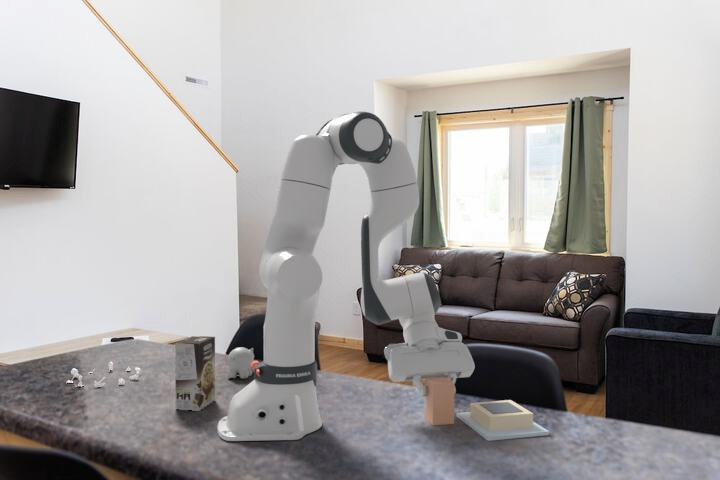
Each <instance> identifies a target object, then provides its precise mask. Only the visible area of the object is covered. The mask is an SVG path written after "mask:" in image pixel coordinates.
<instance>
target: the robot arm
mask: <svg viewBox="0 0 720 480" xmlns="http://www.w3.org/2000/svg"><path fill="white" fill-rule="evenodd" d="M285 158H286V159H285V162H284V165H283V167H282V168H283V169H282V171H281V177H280V182H279V186H278V191H277V192H278V193H277V197H276V202H275V208H274V213H273V217H272V220H271V225H270V228H269V229H268V230H269V231H268V233H267V237H266V240H265V243H264V247H263V251H262V256H261V258H260V262H259V267H258V269H259V270H258V272H259V279H260V281H261V283H262V285H263V286H264V287H265V288H266V289H267V301H266V311H265V316H264V323H263V360H262V361H261V362H259V361H258V360H254V361H253V362H252V363H251V370H252V372H253V375H254V379H253V380H252V381H250V382H249V384H247V385H246V386H244V387H243V388H242V389H240V391H238V392H237V393H235V394H234V395H233V397H232V398H231V401H230V403H229V406H228V410H227V415H226V416H223V417H222V418H221V419H220V420H219V421H218V423H217V429H216V432H217V434H218V437H219V438H220V439H222V440H224V441H227V442H245V441H247V442H248V441H249V442H250V441H251V442H253V441H296V440H297V441H298V440H301V439H302V438H303V437H304V436H306V435H308V434H311V433H313V432H315V431H317V430H319V429H320V428H321V427H322V426H323V422H322V417H321V415H320V410H319V404H318V399H317V398H318V397H317V389H316V387H317V384H318V383H317V382H318V363H317V361H316V359H315V357H316V356H315V339H316V337H315V335H316V334H315V333H316V332H315V327H316V324H315V323H316V317H317V311H318V305H319V297H320V288H321V286H322V282H323V272H322V268H321V265H320V263H319V262H318V260H317V259H316V258H315V256H314V255H313V254H314V251H315V247H316V245H317V242H318V239H319V236H320V234H321V231H322V230H323V228H324V226H325V222H326V215H327V210H328V205H329V200H330V194H331V189H332V185H333V184H332V183H333V177H334V174H335V172H336V169H337V167H339V166H341V165H355V164H358V165H360V166H361V167H362V169H363V170H364V172H365V174H366V176H367V180H368V187H369V192H370V206H369V208H368V209H369V210H368V211H367V213H366V214H364V215H363V216H362V220H361V227H360V228H361V229H360V231H361V232H360V235H361V236H360V238H361V241H360V248H361V249H360V252H361V253H360V256H361V259H360V260H361V278H362V279H361V280H362V281H361V284H362V285H361V293H360V309H361V311H362V315H363V316H364V318H365V320H367V321H369V322H371V323H373V324H376V325H378V326H380V325H383V324H387V323H390V322H392V321H396V320H399V324H400V325H401V327H402V330H403V332H402V334H403V339H404V342H401V343H389V344H388V345H387V346H385V348H384V349H383V353H384V357H385V359H386V361H387V372H388V377H389V379H390V380H391V381H392V382H393V383H399V382H400V383H401V382H412V385H413V386H414V387H415V388H416V389H417V390H418V391H419V394H420V397H421V398H425V396H428V395H429V390H428V386H425V384H423V383H422V382H421V381H425V379H433V378H447V379H449V380H450V381H452V382H453V383H454V395H456V393H457V389H456V385H455V384H456V381H457V379H458V378H470V377H471V375H472V374H473V372H474V370H475V367H476V366H475V362H474V359H473V357H472V354H471V352H470V350H469V348H468V347H467V345H466V344H465V343H463V342H462V341H463V336H462V334H461V332H457V331H454V330H449V329H445V328H443V327H439V325H438V323H437V322H436V320H435V315H436V314H437V312H438V311H439V309H440V307H441V305H442V304H441V303H442V300H441V295H440V293H439V290H438V288H437V285H436V281H435V278H434V277H433V276H431V275H430V274H428V273H426V272H424V271H423V272H416V273H410V274H406V275H403V276H399V277H395V278H390V279H389V278H388V279H383V280H382V279H380V276H379V274H380V273H379V272H380V271H379V270H380V268H379V266H380V265H379V250H380V249H379V248H380V245H381V243H382V241H383V240H384V239H385V238H386V237H387V236H388V235H389V234H391V233H392V232H394V231H395V230H397V229H399V228H400V227H402V226H404V225H405V224H406V223H407V222H408V221H410V220H411V219H412V218H413V216H414V215H415V214H416V212H417V211H418V208H419V206H420V193H419V192H420V191H419V185H418V180H417V175H416V171H415V168H414V164H413V161H412V158H411V155H410V153H409V150H408V148H407V146H406V144H405V143H404V142H403V141H402V140H400V139H397V138H395V137H394V138H393V137H392V135H391V134H390V133H389V131H388V129H387V127H386V125H385V124H384V122H383V121H382V120H381V118H380V117H378V116H377V115H376V114H374V113H372V112H368V111H355V112H352V113H344V114H341V115H339V116H337V117H335V118H332V119H330V120H329V121H327V122H326V123H324V124H323V125H322V127H320V129H319V130H318V132H317V133H315V134H313V133H311V134H310V133H307V134H301V135H299V136H297V137H296V138H295V139H294V140H293V141H292V142H291V145H290V148H289V151H288V153H287V156H286V157H285Z"/></svg>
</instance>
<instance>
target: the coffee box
mask: <svg viewBox="0 0 720 480" xmlns="http://www.w3.org/2000/svg"><path fill="white" fill-rule="evenodd" d="M174 363H175V374H174V375H175V376H174V377H175V410H176V409H179V410H178V411H188V410H192V412H200V411H202V410H203V409H205V408H206V407H207V405H208V406H209V405H211V404H212V403H214V402H216V336H205V335H204V336H201V335H200V336H197V335H196V336H193V335H192V336H190V337H187V338H184V339H182V340H180V341H177V342H175V361H174ZM213 401H214V402H213ZM210 403H211V404H210ZM204 407H205V408H204ZM201 409H202V410H201Z"/></svg>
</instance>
